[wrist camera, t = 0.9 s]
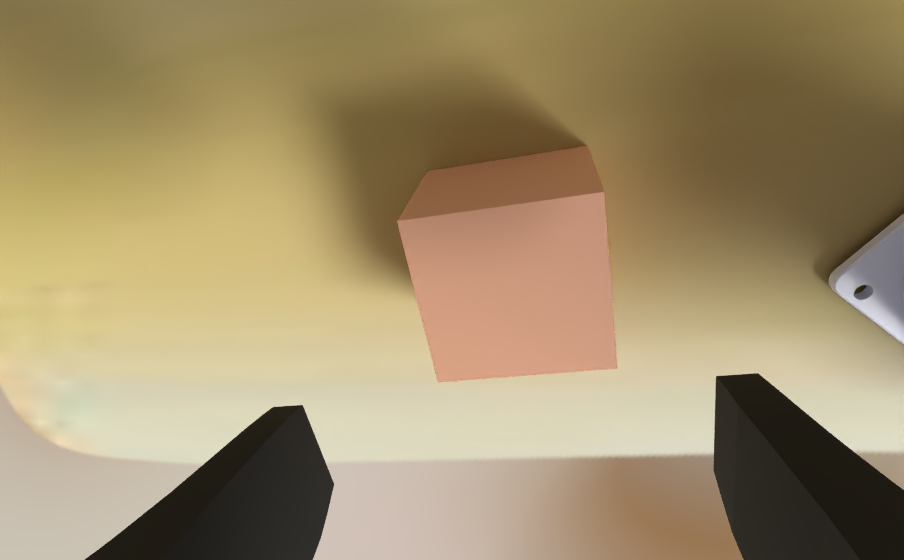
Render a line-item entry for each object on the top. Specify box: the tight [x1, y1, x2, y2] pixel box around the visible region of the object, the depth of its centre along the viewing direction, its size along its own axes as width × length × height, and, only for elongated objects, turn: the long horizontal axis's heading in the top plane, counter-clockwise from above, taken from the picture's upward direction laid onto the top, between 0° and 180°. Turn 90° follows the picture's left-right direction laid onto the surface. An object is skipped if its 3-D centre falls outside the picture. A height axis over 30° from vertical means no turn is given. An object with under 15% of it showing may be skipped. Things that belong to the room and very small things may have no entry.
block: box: [397, 146, 617, 382], centre depth 16 cm, size 5×5×4 cm
